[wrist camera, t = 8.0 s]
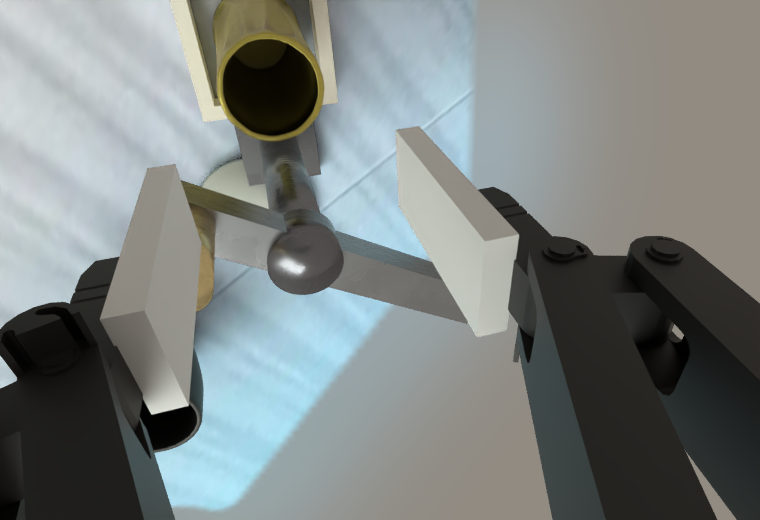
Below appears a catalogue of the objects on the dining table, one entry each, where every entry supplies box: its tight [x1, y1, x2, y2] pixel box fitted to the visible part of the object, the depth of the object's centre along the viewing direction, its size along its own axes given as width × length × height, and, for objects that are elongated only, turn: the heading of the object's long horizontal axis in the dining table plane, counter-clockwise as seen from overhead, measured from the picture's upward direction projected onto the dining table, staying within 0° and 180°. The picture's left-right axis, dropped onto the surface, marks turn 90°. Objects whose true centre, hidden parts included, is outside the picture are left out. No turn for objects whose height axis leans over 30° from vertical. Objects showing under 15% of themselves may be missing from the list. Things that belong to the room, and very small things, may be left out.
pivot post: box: [234, 122, 321, 214], centre depth 34 cm, size 6×6×15 cm
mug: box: [139, 347, 203, 453], centre depth 43 cm, size 8×12×10 cm
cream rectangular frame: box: [170, 0, 338, 122], centre depth 34 cm, size 10×10×2 cm
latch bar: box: [181, 180, 468, 323], centre depth 26 cm, size 19×4×7 cm, turn 61°
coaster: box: [201, 158, 269, 209], centre depth 42 cm, size 10×10×1 cm
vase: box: [213, 0, 324, 141], centre depth 29 cm, size 6×6×14 cm
